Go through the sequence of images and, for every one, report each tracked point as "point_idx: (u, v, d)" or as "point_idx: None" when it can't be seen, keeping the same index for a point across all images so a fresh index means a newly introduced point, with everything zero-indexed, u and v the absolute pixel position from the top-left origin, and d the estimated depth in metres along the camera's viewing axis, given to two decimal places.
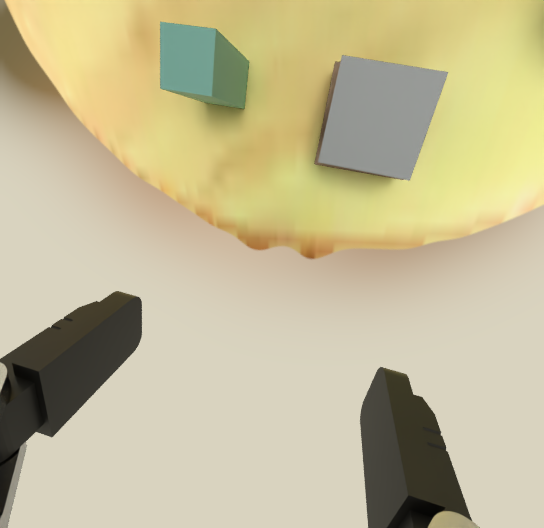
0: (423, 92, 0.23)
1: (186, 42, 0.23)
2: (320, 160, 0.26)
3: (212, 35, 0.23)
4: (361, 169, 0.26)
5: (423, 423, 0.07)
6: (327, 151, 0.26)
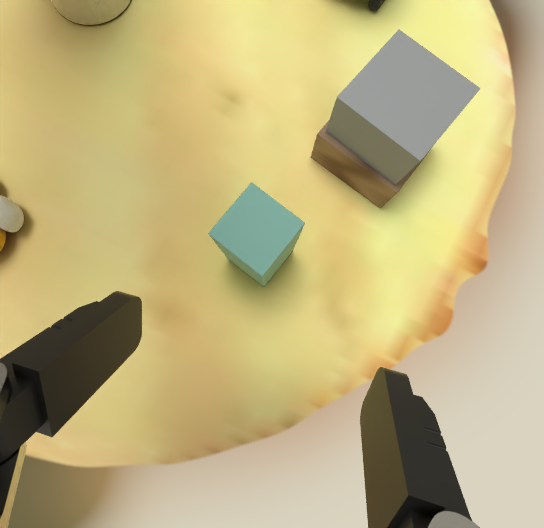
0: (405, 50, 0.24)
1: (242, 218, 0.20)
2: (419, 157, 0.22)
3: (254, 188, 0.20)
4: (448, 124, 0.23)
5: (423, 423, 0.07)
6: (413, 147, 0.22)
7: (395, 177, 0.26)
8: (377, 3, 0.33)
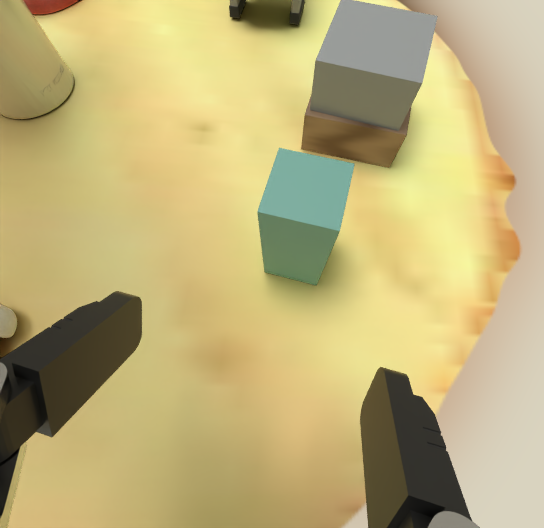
0: (356, 10, 0.25)
1: (286, 183, 0.17)
2: (420, 81, 0.22)
3: (285, 152, 0.18)
4: (428, 48, 0.23)
5: (423, 423, 0.07)
6: (409, 74, 0.22)
7: (397, 120, 0.25)
8: (297, 17, 0.36)
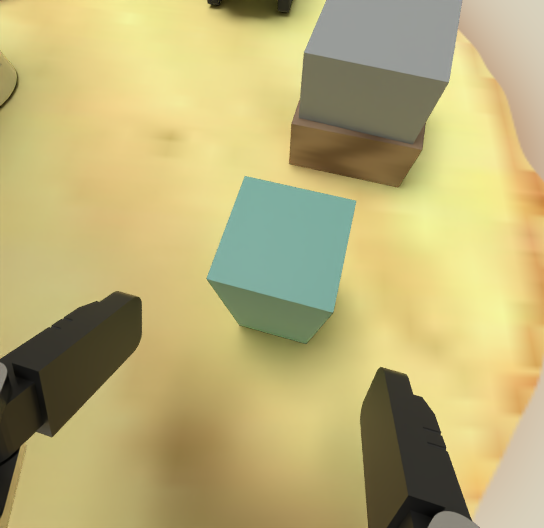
0: None
1: (253, 231, 0.11)
2: (445, 79, 0.16)
3: (253, 182, 0.12)
4: (454, 36, 0.17)
5: (423, 423, 0.07)
6: (430, 71, 0.16)
7: (412, 131, 0.19)
8: (287, 3, 0.30)
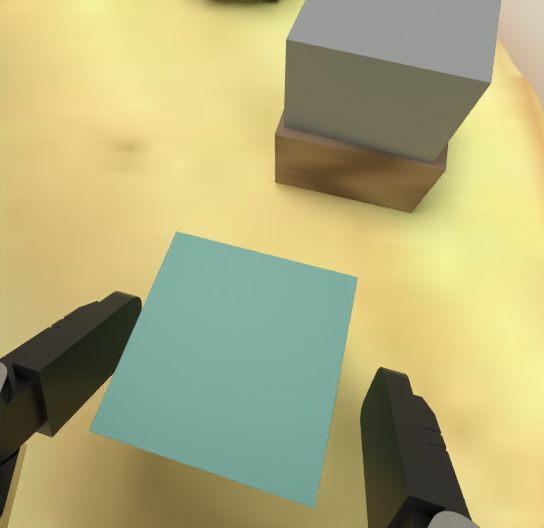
0: None
1: (181, 335, 0.07)
2: (486, 78, 0.11)
3: (189, 243, 0.07)
4: (495, 19, 0.12)
5: (423, 423, 0.07)
6: (464, 66, 0.11)
7: (432, 147, 0.14)
8: None
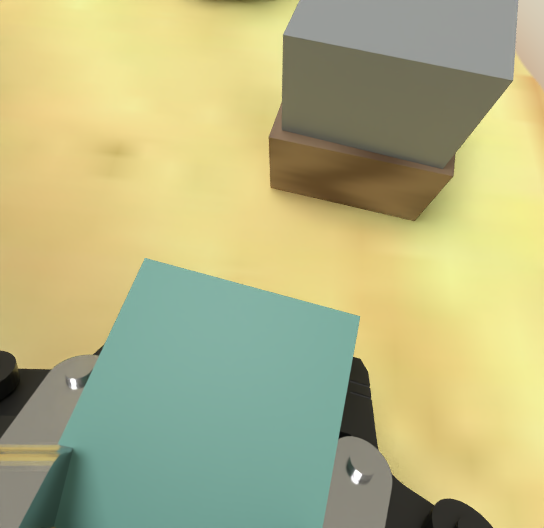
0: None
1: (145, 389, 0.05)
2: (507, 75, 0.10)
3: (159, 273, 0.06)
4: (514, 10, 0.11)
5: (355, 378, 0.08)
6: (482, 63, 0.10)
7: (443, 151, 0.13)
8: None
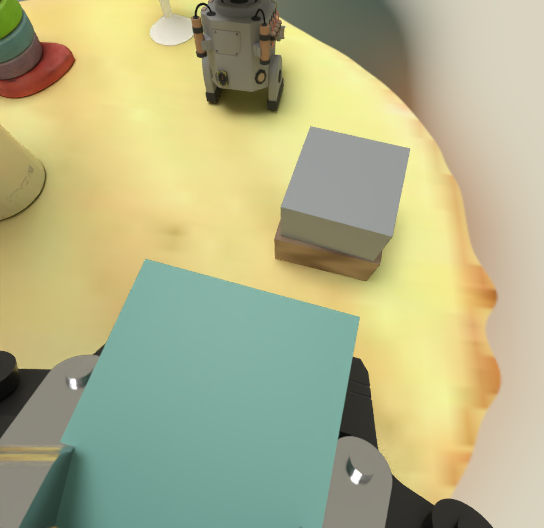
0: (325, 142, 0.23)
1: (145, 389, 0.05)
2: (390, 233, 0.20)
3: (160, 273, 0.06)
4: (400, 191, 0.22)
5: (355, 378, 0.08)
6: (378, 225, 0.21)
7: (371, 255, 0.24)
8: (275, 104, 0.35)
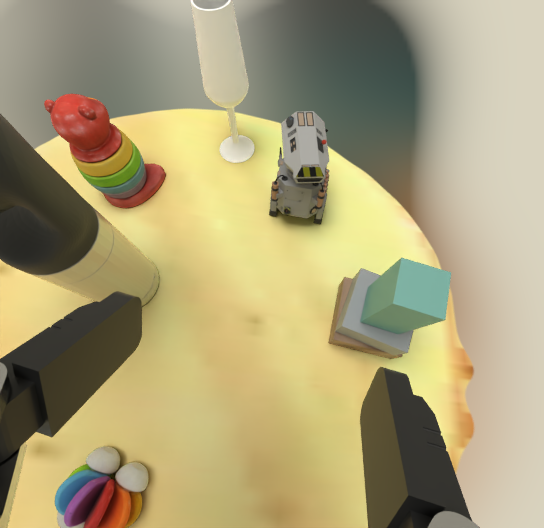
0: (370, 281, 0.38)
1: (409, 284, 0.27)
2: (406, 350, 0.35)
3: (406, 261, 0.28)
4: None
5: (423, 423, 0.07)
6: (400, 344, 0.35)
7: (392, 353, 0.38)
8: (320, 221, 0.49)
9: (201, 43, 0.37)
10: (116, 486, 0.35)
